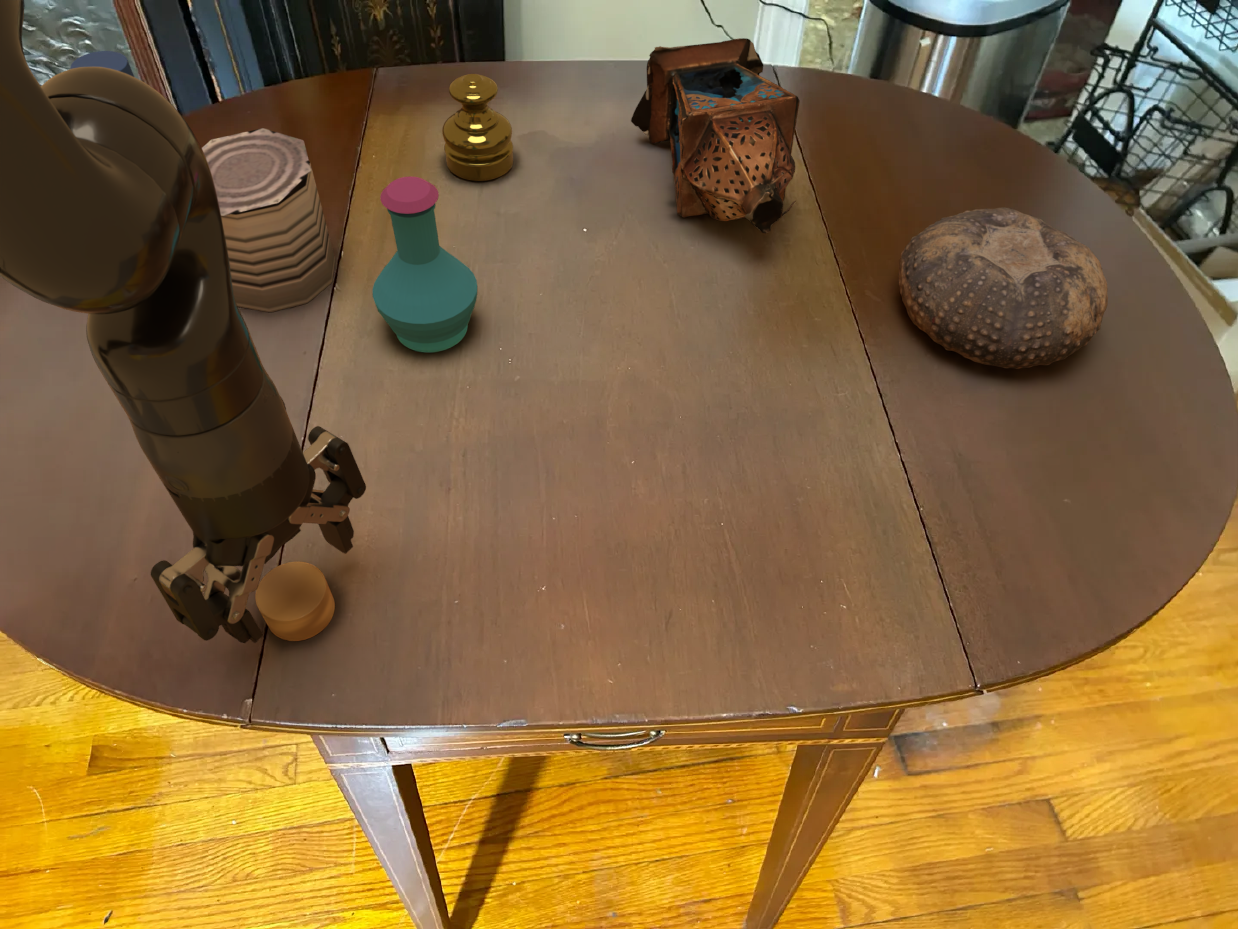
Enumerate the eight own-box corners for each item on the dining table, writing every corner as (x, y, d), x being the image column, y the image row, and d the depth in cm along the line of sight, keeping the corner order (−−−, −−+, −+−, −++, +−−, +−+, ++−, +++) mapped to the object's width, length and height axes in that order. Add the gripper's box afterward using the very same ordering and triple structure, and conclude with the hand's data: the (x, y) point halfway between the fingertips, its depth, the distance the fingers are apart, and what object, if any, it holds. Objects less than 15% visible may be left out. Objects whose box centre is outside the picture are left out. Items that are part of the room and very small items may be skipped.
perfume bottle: (363, 348, 82) (328, 209, 71) (407, 285, 88) (381, 146, 76) (457, 372, 81) (437, 235, 69) (496, 306, 86) (484, 169, 75)
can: (350, 295, 87) (322, 187, 77) (227, 325, 84) (183, 217, 74) (322, 225, 93) (294, 117, 84) (207, 251, 90) (164, 142, 80)
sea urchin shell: (1065, 412, 80) (1095, 323, 73) (862, 355, 88) (869, 269, 81) (1118, 292, 90) (1148, 202, 82) (930, 250, 98) (942, 166, 91)
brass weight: (498, 189, 98) (492, 102, 90) (435, 174, 99) (423, 87, 91) (523, 152, 102) (519, 67, 94) (462, 138, 104) (453, 53, 96)
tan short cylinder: (300, 653, 64) (289, 633, 61) (252, 618, 65) (240, 597, 63) (349, 604, 66) (340, 583, 64) (301, 571, 68) (291, 549, 65)
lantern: (676, 181, 111) (748, 309, 95) (592, 93, 99) (658, 221, 84) (784, 86, 105) (880, 205, 89) (708, -19, 94) (802, 96, 78)
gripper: (270, 340, 56) (330, 495, 69) (69, 494, 48) (178, 636, 61) (361, 392, 53) (405, 543, 66) (163, 563, 46) (256, 696, 59)
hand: (296, 587), depth 64 cm, fingers open, 8 cm apart
